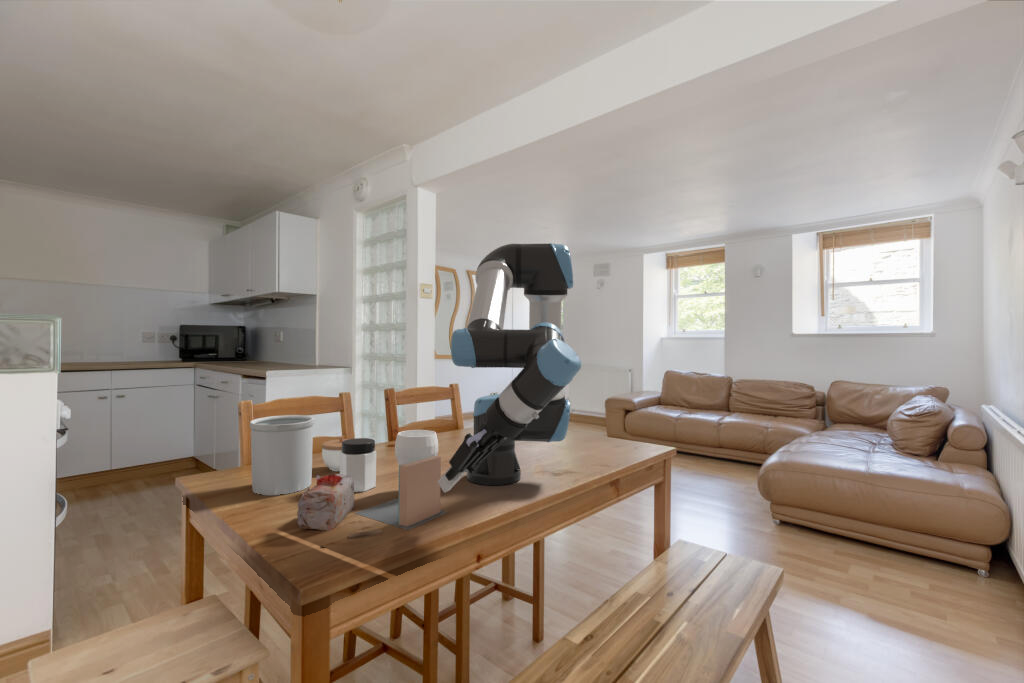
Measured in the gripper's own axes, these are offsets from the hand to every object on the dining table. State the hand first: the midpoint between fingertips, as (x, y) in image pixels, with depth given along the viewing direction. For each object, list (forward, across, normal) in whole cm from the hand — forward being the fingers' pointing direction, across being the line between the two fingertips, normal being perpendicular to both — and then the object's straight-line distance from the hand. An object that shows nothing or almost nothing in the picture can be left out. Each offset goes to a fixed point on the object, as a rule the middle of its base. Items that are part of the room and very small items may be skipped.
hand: (443, 486), depth 95 cm
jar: (+31, +8, +19) cm, 38 cm away
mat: (+15, 0, +3) cm, 15 cm away
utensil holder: (+43, -3, +31) cm, 53 cm away
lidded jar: (+45, +17, +33) cm, 58 cm away
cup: (+20, +13, +8) cm, 26 cm away
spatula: (+14, -14, +1) cm, 19 cm away
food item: (+22, -11, +9) cm, 26 cm away
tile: (+10, 0, -1) cm, 10 cm away
